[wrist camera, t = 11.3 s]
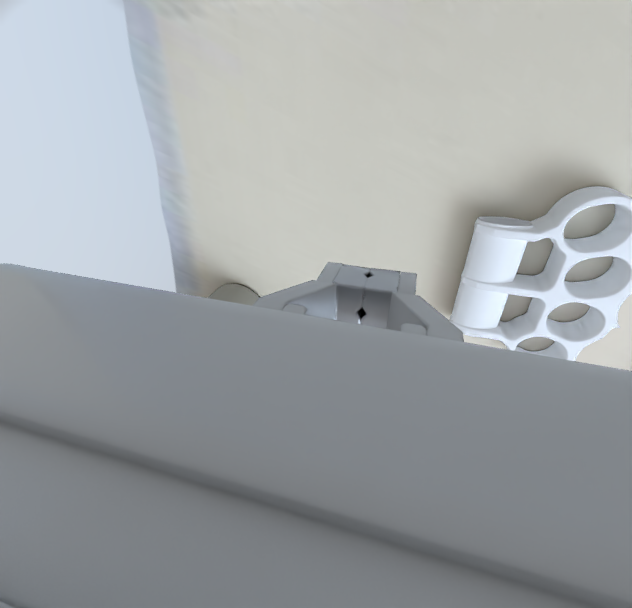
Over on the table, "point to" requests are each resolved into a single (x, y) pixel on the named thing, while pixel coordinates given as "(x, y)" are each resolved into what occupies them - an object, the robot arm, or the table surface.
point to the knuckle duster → (546, 276)
